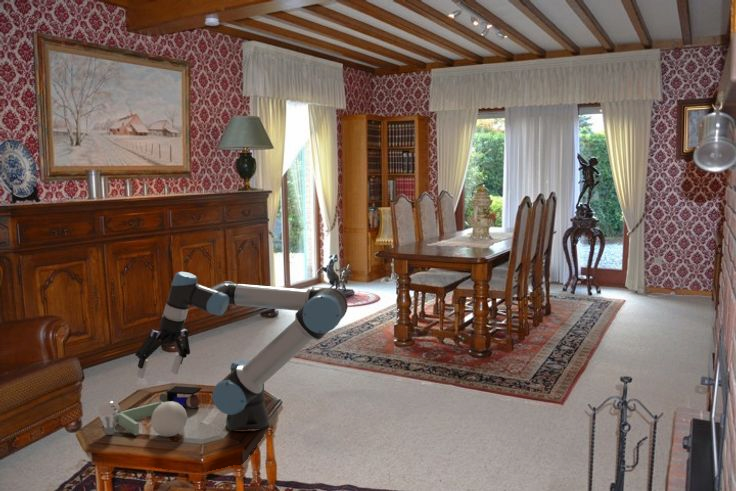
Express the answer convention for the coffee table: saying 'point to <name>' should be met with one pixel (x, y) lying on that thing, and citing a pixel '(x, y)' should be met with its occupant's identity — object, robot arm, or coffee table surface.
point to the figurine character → (190, 401)
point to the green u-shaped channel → (135, 416)
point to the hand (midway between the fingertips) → (157, 374)
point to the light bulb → (109, 415)
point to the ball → (169, 419)
